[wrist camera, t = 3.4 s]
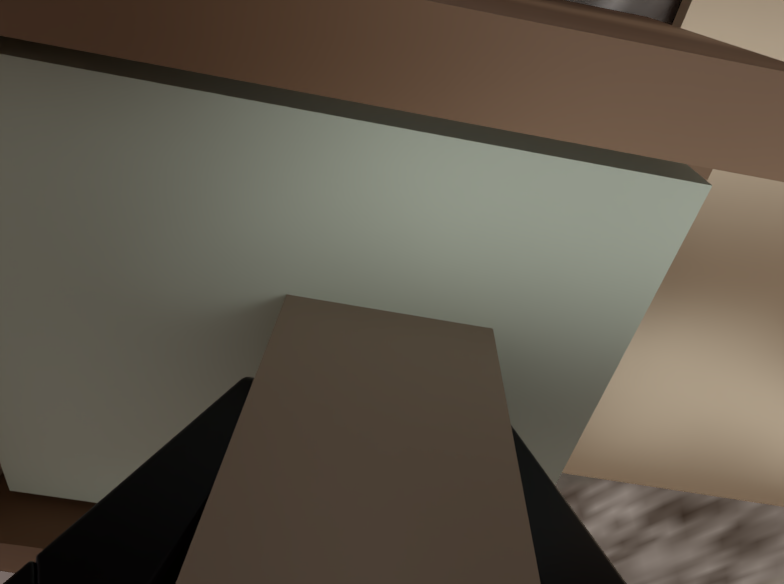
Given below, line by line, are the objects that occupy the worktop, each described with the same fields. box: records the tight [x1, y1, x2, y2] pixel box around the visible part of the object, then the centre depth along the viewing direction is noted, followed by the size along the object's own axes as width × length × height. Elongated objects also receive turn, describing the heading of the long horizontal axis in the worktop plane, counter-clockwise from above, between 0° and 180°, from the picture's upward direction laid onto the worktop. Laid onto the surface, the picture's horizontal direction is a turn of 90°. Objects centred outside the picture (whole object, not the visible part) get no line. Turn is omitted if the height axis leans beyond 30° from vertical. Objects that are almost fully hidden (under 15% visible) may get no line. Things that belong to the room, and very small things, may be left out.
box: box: [0, 0, 784, 573], centre depth 10 cm, size 11×12×6 cm
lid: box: [0, 36, 712, 584], centre depth 7 cm, size 8×10×5 cm
